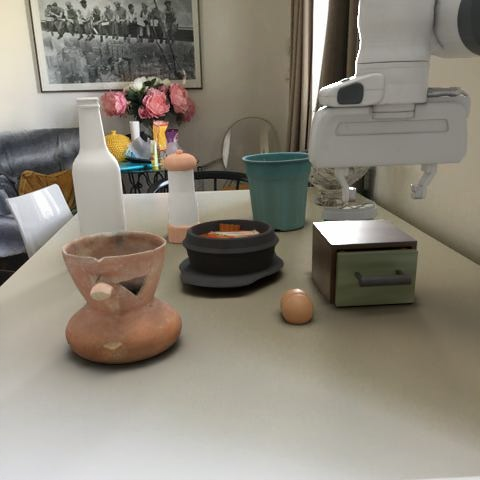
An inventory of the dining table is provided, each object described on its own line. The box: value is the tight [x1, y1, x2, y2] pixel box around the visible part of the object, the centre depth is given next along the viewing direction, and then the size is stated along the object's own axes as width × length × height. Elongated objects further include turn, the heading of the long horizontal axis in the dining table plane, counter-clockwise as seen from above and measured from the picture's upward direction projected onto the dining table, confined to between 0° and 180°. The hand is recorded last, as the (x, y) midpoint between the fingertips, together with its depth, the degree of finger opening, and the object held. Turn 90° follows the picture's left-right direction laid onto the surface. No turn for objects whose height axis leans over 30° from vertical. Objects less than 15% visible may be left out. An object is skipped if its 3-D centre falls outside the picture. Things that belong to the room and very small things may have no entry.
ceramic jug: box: [61, 230, 183, 365], centre depth 71 cm, size 18×14×14 cm
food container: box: [320, 198, 379, 222], centre depth 107 cm, size 12×6×10 cm, turn 126°
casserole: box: [178, 218, 285, 289], centre depth 99 cm, size 25×19×8 cm
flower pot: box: [241, 151, 312, 232], centre depth 132 cm, size 16×16×16 cm
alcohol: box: [71, 96, 128, 237], centre depth 106 cm, size 9×9×30 cm
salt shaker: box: [162, 149, 201, 244], centre depth 122 cm, size 7×7×19 cm
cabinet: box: [311, 219, 418, 304], centre depth 90 cm, size 15×13×10 cm
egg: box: [279, 288, 315, 325], centre depth 79 cm, size 6×4×4 cm
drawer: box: [334, 247, 419, 308], centre depth 85 cm, size 18×11×8 cm, turn 4°
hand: (383, 200), depth 76 cm, fingers open, 8 cm apart
